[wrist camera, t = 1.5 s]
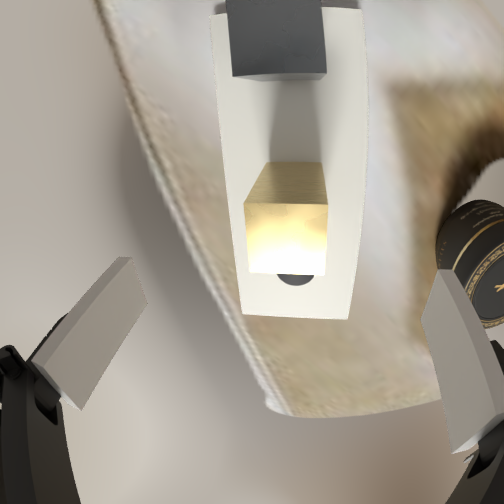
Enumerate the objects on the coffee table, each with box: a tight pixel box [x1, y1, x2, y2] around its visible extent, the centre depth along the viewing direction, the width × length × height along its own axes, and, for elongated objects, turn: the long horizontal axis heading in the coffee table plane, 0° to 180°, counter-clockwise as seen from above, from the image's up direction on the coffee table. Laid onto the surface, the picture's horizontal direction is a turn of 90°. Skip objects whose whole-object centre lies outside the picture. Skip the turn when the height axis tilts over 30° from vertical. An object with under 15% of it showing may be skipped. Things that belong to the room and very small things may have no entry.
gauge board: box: [209, 7, 368, 319], centre depth 22 cm, size 28×11×2 cm, turn 4°
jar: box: [436, 200, 504, 329], centre depth 19 cm, size 10×10×8 cm
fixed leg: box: [226, 0, 327, 82], centre depth 13 cm, size 4×4×9 cm
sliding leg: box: [243, 162, 328, 275], centre depth 18 cm, size 4×4×8 cm
